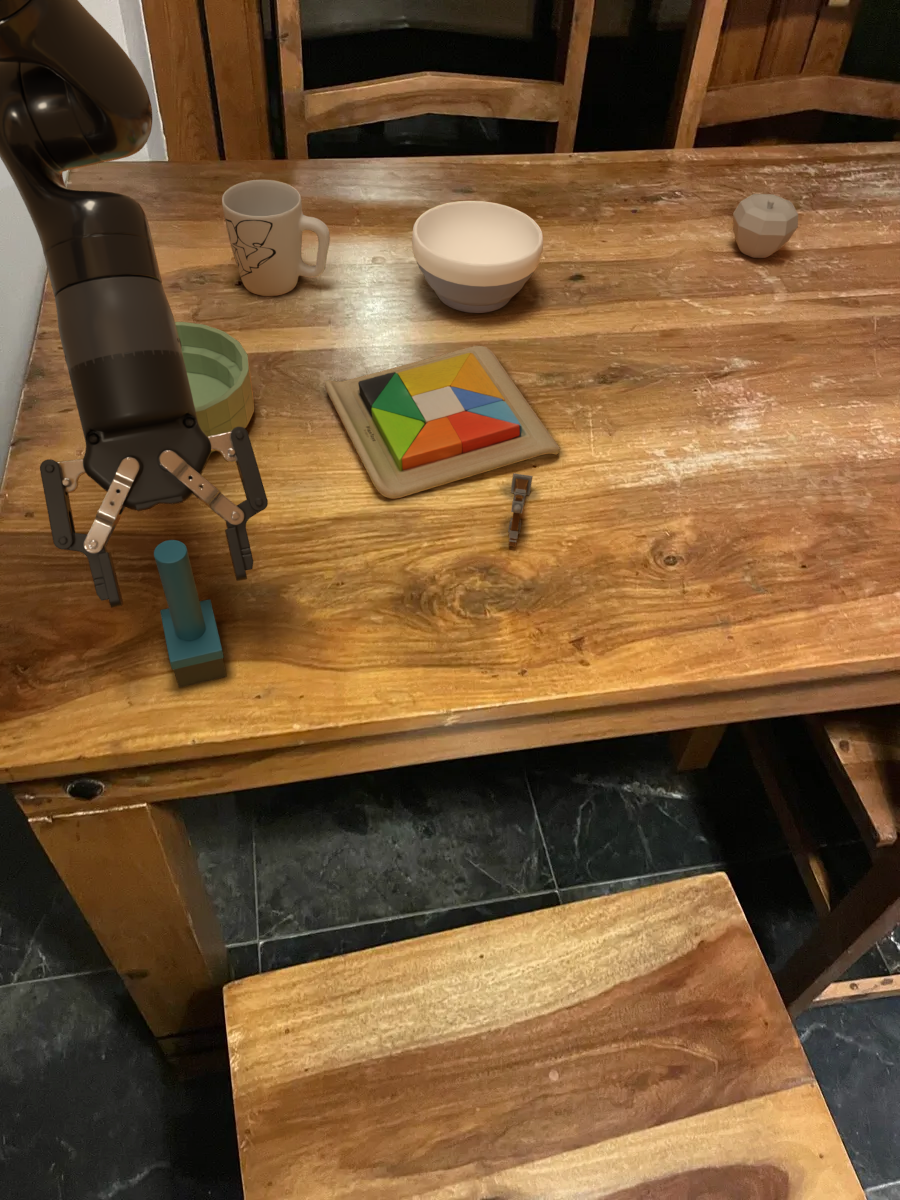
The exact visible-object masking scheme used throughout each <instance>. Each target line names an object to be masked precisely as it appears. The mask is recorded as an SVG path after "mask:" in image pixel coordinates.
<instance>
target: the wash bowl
mask: <svg viewBox="0 0 900 1200" xmlns="http://www.w3.org/2000/svg"><path fill="white" fill-rule="evenodd" d="M175 324H176V328H177V333H178V337H179V339H180V341H181V347H182V349H181V350H182V354H183V359H184V363H185V367H186V372H187V376H188V380H189V385H190V389H191V393H192V398H193V402H194V406H195V411H196V415H197V419H198V423H199V426H200V428H201V430H202V431H203V433H204V434H205V435H206V436H207V437H209V436H213V435H217V434H222V433H226V432H230V431H232V430H233V429H234V428H235V427H243V428H245V429H246V428H247V427H248V425H249V423H250V421H251V419H252V417H253V414H254V412H255V398H254V389H253V383H252V375H251V374H252V373H251V367H250V361H249V355H248V353H247V352H246V350H245V348H244V347H243V345H242V344H241V342H240V341H239V340H238V339H236V338H234V337H233V336H232V335H230V334H229V333H227V332H226V331H224V330H222V329H218V328H216V327H213V326H210V325H207V324H203V323H196V322H188V321H175ZM214 452H215V451H211V454H212V453H214Z"/></svg>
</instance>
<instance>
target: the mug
mask: <svg viewBox="0 0 900 1200" xmlns="http://www.w3.org/2000/svg"><path fill="white" fill-rule="evenodd" d="M302 201H303V200H302V196H301V194H300V192H299V190H298V189H296V188H295V187H293V186H292V185H290V184H289V183H286V182H282V181H278V180H273V179H253V180H252V179H251V180H246V181H242V182H239V183H236V184H234V185H232V186H230V187H229V188H228V189H226V190H225V191H224V192H223V194H222V197H221V207H222V212H223V217H224V221H225V225H226V227H225V228H226V231H227V236H228V240H229V245H230V248H231V251H232V254H233V258H234V261H235V264H236V267H237V270H238V273H239V276H240V280H241V282H242V285H243V286H244V288H245V289H246V290H247V291H248V292H249V293H252V294H254V295H257V296H261V297H277V296H281V295H285V294H287V293H290V292H291V291H293V290H294V288H296V286H297V284H298V281H299V277H300V276H301V277H305V278H318V277H320V276H321V275H323V274H324V271H325V270H326V266H327V260H328V259H327V258H328V252H329V248H330V243H331V235H330V234H331V233H330V229H329V226H328V225H327V224H326V223H325V222H324V221H322V220H321V219H319V218H317V217H313V216H308V215H305V214H304V213H303V202H302ZM304 231H311V232H314V233H315V235H316V236H317V241H318V242H317V253H316V260H315V261H316V262H315V265H312V264H308V263H306V262H305V260H304V259H303V258H302V244H303V232H304Z"/></svg>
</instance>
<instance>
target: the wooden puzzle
mask: <svg viewBox="0 0 900 1200" xmlns="http://www.w3.org/2000/svg"><path fill="white" fill-rule="evenodd" d="M324 389H325V391H326V393H327V394H328V396H329V399H330V401H331V403H332V404H333V407H334V409H335V410H336V413H337V415H338V416H339V418H340V419H339V420H340V421H341V423H342V424H343V427H344V429H345V430H346V431H345V432H346V433H347V434H348V435H347V436H348V437H349V439H350V441H351V443H352V445H353V446H354V448H355V451H356V452H357V455H358V457H359V458H360V461H361V462H362V465H363V467H364V468H365V470H366V473H367V475H368V477H369V478H370V480H371V482H372V484H373V486H374V488H375V489H376V490H377V492H378V494H380V495H381V496H383V497H385V498H387V499H393V500H394V499H400V498H403V497H408V496H411V495H414V494H417V493H421V492H423V491H427V490H431V489H433V488H437V487H440V486H443V485H446V484H451V483H453V482H456V481H459V480H463V479H466V478H470V477H472V476H477V475H479V474H484V473H486V472H489V471H492V470H496V469H499V468H502V467H506V466H510V465H513V464H516V463H519V462H523V461H526V460H530V459H532V458H536V457H539V456H543V455H548V454H550V455H558V454H559V453H560V451H561V448H560V446H559V444H558V443H557V442H556V440H555V439H554V437H553V436H552V435H551V433H550V432H549V430H548V429H547V427H545V425H544V423H543V422H542V420H541V419H540V417H538V415H537V414H536V412H535V411H534V410H533V408H532V407H531V405H530V404H529V402H528V401H527V400H526V398H525V396H524V395H523V394H522V392H521V391H520V390H519V388H518V387H517V385H516V383H514V380H512V378H511V377H510V375H509V374H508V372H507V371H506V369H505V368H504V367H503V366H502V364H501V363H500V361H499V359H498V358H497V356H496V354H495V353H494V352H493V351H492V350H491V349H490V348H489V347H487V346H484V345H473V346H468V347H466V348H462V349H457V350H454V351H450V352H446V353H443V354H440V355H436V356H432V357H429V358H425V359H422V360H421V359H420V360H417V361H414V362H410V363H406V364H402V365H398V366H395V367H392V368H387V369H384V370H381V371H377V372H373V373H369V374H365V375H360V376H357V377H353V378H350V379H346V380H342V381H341V380H340V381H334V380H330V379H327V380H325V381H324Z"/></svg>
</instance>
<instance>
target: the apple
mask: <svg viewBox="0 0 900 1200" xmlns="http://www.w3.org/2000/svg"><path fill="white" fill-rule="evenodd" d="M798 228H799V212H798V211H797V209H796V207H795V205H794V203H793V202H792V201H791V200H789V199H787V198H783V197H781V196H780V195H777V194H774V193H752V194H751V195H748V196H747V197H745V198H744V199H742V200H740V201H739V203H738V205H737V206H736V208H735V210H734V211H733V213H732V232H733V235H734V239H735V242H736V245H737V248H738V249H739V251H740V252H741V253H742V254H744V255H745V256H747V257H751V258H753V259H766V258H768V257H770V256H771V255H773V254H775V253H776V252H778V251H779V250H780V249H782V248H783V247H784V246H785V245H786V244H787V243H788V242H789V241H790V239H791V238H792V237H793V235H794V233H795V232H796V231H797V229H798Z"/></svg>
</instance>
